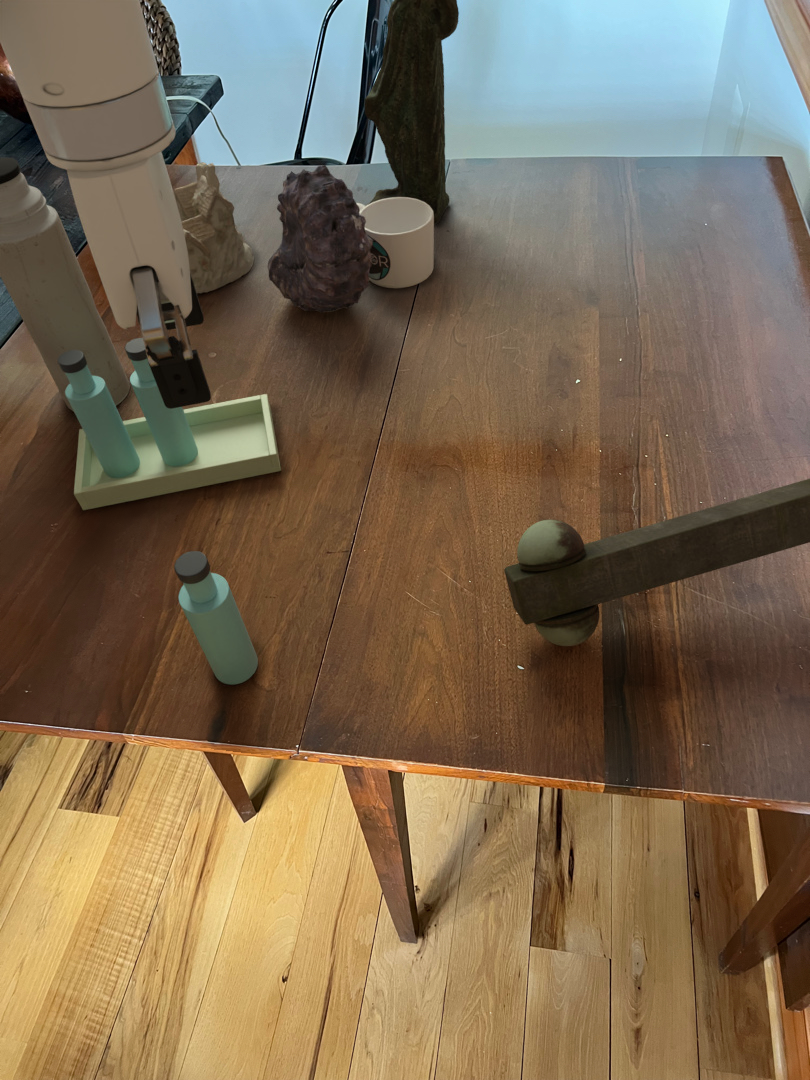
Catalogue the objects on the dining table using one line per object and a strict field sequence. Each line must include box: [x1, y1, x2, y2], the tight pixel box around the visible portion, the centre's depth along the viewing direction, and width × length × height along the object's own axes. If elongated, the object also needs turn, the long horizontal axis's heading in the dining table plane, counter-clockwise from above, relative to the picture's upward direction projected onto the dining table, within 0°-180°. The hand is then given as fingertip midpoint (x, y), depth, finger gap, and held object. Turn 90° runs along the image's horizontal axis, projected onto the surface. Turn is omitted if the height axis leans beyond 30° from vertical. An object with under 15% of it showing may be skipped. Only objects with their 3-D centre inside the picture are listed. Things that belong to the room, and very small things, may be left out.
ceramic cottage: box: [173, 161, 255, 294], centre depth 109 cm, size 16×16×15 cm
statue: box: [363, 0, 460, 226], centre depth 108 cm, size 15×10×35 cm, turn 83°
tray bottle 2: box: [124, 337, 198, 467], centre depth 81 cm, size 4×4×15 cm
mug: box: [356, 197, 435, 289], centre depth 108 cm, size 13×10×8 cm
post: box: [503, 478, 810, 647], centre depth 66 cm, size 11×6×30 cm
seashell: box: [267, 164, 373, 314], centre depth 98 cm, size 20×13×15 cm
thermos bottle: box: [0, 156, 131, 412], centre depth 85 cm, size 8×8×28 cm
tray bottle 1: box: [58, 350, 140, 478], centre depth 81 cm, size 4×4×15 cm
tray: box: [73, 393, 282, 511], centre depth 86 cm, size 22×11×3 cm, turn 102°
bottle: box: [173, 550, 259, 686], centre depth 64 cm, size 4×4×15 cm
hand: (186, 361), depth 57 cm, fingers open, 9 cm apart
